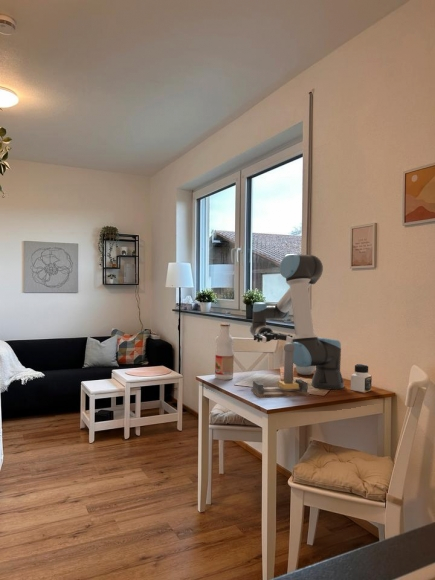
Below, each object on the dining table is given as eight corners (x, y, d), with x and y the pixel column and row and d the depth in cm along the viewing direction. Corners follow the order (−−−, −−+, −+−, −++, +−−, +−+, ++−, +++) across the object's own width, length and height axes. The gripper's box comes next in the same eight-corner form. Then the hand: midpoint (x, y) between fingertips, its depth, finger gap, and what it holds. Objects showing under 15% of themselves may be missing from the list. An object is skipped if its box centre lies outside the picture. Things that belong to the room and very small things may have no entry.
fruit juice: (230, 380, 216) (231, 325, 215) (212, 379, 218) (213, 324, 218) (235, 376, 225) (236, 323, 224) (217, 375, 227) (218, 322, 227)
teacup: (313, 376, 230) (314, 361, 230) (293, 374, 233) (293, 360, 233) (316, 371, 243) (316, 357, 243) (297, 370, 246) (297, 356, 246)
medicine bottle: (364, 392, 196) (365, 366, 196) (350, 390, 201) (350, 364, 201) (371, 390, 201) (372, 364, 201) (357, 387, 206) (357, 362, 206)
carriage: (292, 385, 197) (293, 341, 197) (298, 388, 190) (299, 343, 190) (278, 385, 196) (279, 341, 195) (283, 389, 189) (284, 343, 189)
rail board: (298, 389, 201) (298, 378, 201) (309, 395, 189) (309, 384, 189) (251, 390, 195) (251, 379, 195) (259, 397, 184) (259, 385, 184)
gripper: (286, 341, 229) (302, 348, 208) (241, 340, 223) (253, 348, 203) (287, 327, 229) (303, 333, 208) (242, 326, 223) (254, 332, 202)
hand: (279, 340), depth 205 cm, fingers open, 13 cm apart
